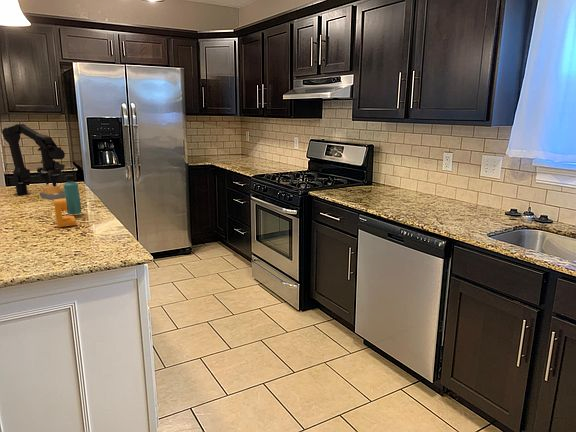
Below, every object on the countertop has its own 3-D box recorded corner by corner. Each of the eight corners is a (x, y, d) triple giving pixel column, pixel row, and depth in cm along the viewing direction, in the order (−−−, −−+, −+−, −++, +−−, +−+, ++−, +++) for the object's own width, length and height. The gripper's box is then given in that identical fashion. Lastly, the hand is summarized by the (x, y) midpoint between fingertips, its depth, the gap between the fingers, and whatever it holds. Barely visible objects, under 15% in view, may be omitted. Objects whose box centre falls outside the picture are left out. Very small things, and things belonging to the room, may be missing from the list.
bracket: (76, 226, 188) (73, 200, 185) (58, 228, 184) (54, 201, 181) (74, 221, 197) (71, 195, 194) (56, 223, 193) (53, 197, 190)
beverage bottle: (85, 215, 208) (80, 174, 203) (73, 218, 202) (68, 176, 197) (75, 213, 210) (70, 173, 205) (64, 216, 204) (58, 175, 199)
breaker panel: (40, 196, 249) (39, 191, 249) (61, 193, 259) (60, 188, 258) (50, 199, 241) (50, 194, 240) (72, 196, 250) (71, 191, 249)
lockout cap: (43, 193, 247) (42, 186, 246) (55, 191, 252) (54, 185, 252) (48, 194, 243) (47, 188, 242) (60, 192, 248) (60, 186, 247)
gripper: (69, 158, 243) (72, 185, 247) (54, 156, 254) (58, 182, 258) (49, 160, 235) (52, 188, 239) (34, 158, 246) (38, 184, 250)
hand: (51, 185), depth 247 cm, fingers open, 9 cm apart
